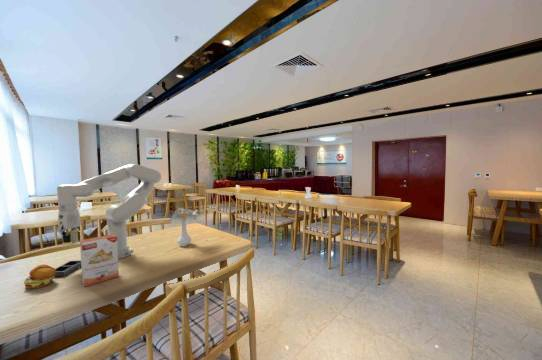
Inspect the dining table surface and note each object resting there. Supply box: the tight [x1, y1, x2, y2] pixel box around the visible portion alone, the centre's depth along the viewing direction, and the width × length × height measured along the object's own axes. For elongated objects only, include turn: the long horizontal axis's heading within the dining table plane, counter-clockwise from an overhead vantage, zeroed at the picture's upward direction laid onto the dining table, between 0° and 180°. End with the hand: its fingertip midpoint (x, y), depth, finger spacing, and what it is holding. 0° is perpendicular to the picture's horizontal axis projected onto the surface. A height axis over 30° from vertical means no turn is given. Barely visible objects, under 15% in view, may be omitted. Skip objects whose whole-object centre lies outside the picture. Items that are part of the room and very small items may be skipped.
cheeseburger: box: [23, 264, 56, 290], centre depth 112 cm, size 10×11×10 cm
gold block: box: [61, 229, 79, 246], centre depth 129 cm, size 5×4×7 cm
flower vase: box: [170, 208, 199, 247], centre depth 165 cm, size 13×18×25 cm
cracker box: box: [79, 234, 120, 287], centre depth 116 cm, size 14×6×21 cm, turn 135°
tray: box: [54, 259, 81, 278], centre depth 127 cm, size 7×14×2 cm, turn 4°
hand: (70, 240), depth 129 cm, fingers closed on gold block, 4 cm apart
